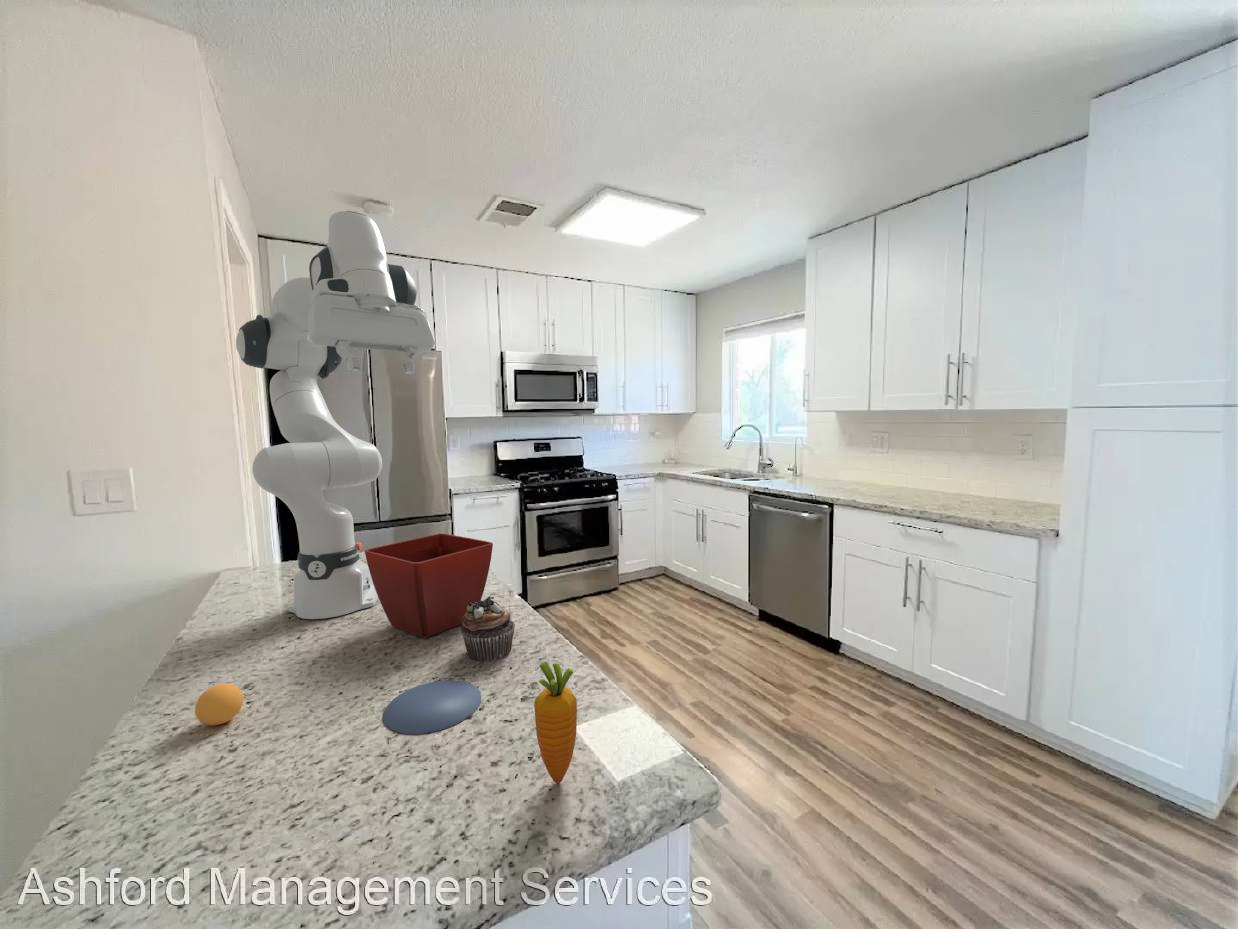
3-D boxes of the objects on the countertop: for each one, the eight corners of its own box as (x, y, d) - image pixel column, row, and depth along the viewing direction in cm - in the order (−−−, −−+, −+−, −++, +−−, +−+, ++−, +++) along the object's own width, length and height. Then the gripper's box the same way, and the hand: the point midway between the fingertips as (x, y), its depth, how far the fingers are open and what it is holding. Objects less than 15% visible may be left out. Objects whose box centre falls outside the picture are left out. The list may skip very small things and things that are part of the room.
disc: (400, 684, 83) (400, 683, 82) (487, 678, 84) (487, 677, 84) (368, 738, 69) (368, 737, 69) (472, 729, 70) (472, 728, 70)
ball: (213, 712, 75) (210, 677, 75) (253, 709, 76) (250, 675, 76) (186, 735, 70) (183, 698, 70) (229, 732, 71) (225, 695, 70)
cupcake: (480, 670, 87) (478, 614, 86) (453, 652, 94) (450, 600, 93) (526, 651, 94) (524, 599, 93) (497, 636, 101) (495, 587, 100)
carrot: (587, 781, 60) (584, 661, 58) (555, 805, 56) (552, 678, 55) (559, 762, 63) (556, 648, 62) (528, 784, 60) (524, 663, 58)
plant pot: (444, 600, 121) (441, 531, 120) (498, 616, 110) (495, 542, 109) (367, 627, 106) (362, 549, 104) (420, 650, 95) (415, 563, 93)
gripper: (418, 314, 98) (432, 380, 96) (298, 298, 83) (312, 375, 82) (432, 298, 94) (447, 367, 92) (308, 278, 79) (323, 359, 77)
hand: (383, 371), depth 87 cm, fingers open, 8 cm apart
